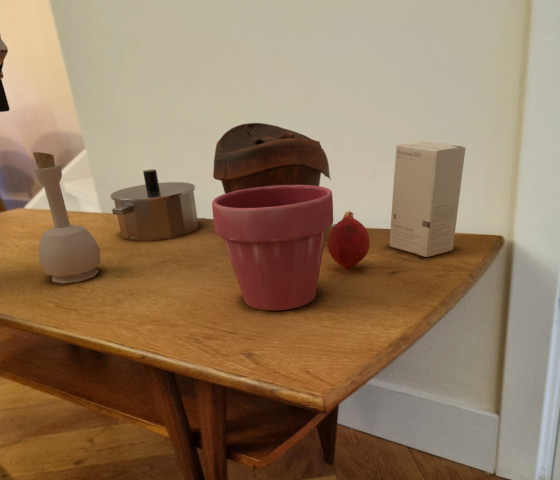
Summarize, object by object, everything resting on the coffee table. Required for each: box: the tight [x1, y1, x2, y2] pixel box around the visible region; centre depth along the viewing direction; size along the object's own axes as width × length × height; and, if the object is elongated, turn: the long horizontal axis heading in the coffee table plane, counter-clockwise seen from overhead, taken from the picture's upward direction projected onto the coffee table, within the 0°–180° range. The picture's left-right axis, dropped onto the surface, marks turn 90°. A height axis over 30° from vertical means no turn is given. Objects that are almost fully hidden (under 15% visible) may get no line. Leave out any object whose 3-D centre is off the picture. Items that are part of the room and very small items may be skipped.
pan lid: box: [110, 169, 196, 202], centre depth 102 cm, size 16×16×5 cm
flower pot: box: [211, 185, 334, 311], centre depth 67 cm, size 14×14×13 cm
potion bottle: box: [32, 151, 101, 284], centre depth 80 cm, size 9×9×18 cm
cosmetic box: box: [389, 141, 466, 258], centre depth 80 cm, size 8×6×15 cm
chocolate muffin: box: [212, 122, 332, 194], centre depth 90 cm, size 18×20×18 cm
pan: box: [111, 190, 199, 242], centre depth 105 cm, size 15×20×7 cm
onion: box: [327, 210, 371, 270], centre depth 76 cm, size 6×6×8 cm
